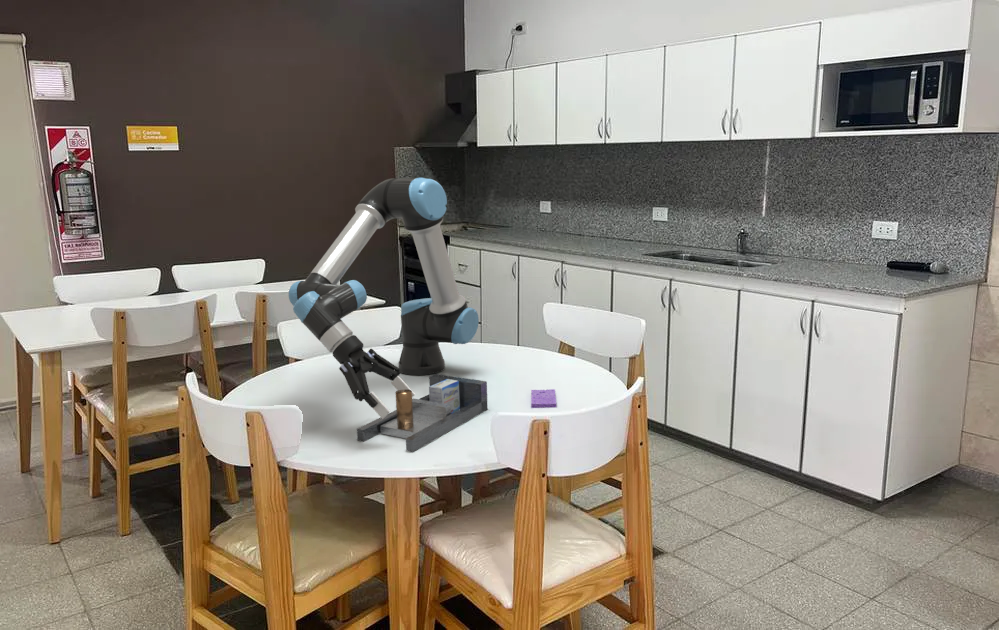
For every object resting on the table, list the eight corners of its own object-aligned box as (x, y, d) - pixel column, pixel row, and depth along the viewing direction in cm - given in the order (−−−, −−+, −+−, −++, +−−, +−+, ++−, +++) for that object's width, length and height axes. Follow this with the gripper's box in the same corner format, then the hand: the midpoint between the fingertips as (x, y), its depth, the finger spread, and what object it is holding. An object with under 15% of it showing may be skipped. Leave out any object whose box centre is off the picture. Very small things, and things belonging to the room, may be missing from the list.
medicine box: (443, 419, 199) (442, 388, 198) (429, 417, 202) (428, 385, 200) (460, 411, 206) (459, 380, 204) (447, 408, 208) (445, 378, 206)
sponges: (555, 395, 219) (555, 389, 218) (556, 409, 206) (556, 402, 206) (531, 395, 219) (530, 389, 219) (531, 409, 207) (530, 403, 206)
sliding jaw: (380, 433, 190) (378, 391, 187) (414, 416, 202) (412, 376, 199) (419, 441, 184) (417, 397, 182) (451, 423, 196) (450, 382, 194)
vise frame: (357, 440, 186) (355, 409, 184) (436, 401, 215) (435, 373, 213) (413, 452, 178) (411, 419, 176) (487, 409, 206) (486, 381, 205)
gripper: (359, 341, 202) (412, 399, 200) (306, 366, 179) (365, 432, 177) (375, 323, 199) (429, 382, 197) (323, 346, 176) (384, 413, 175)
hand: (399, 406), depth 187 cm, fingers open, 13 cm apart
